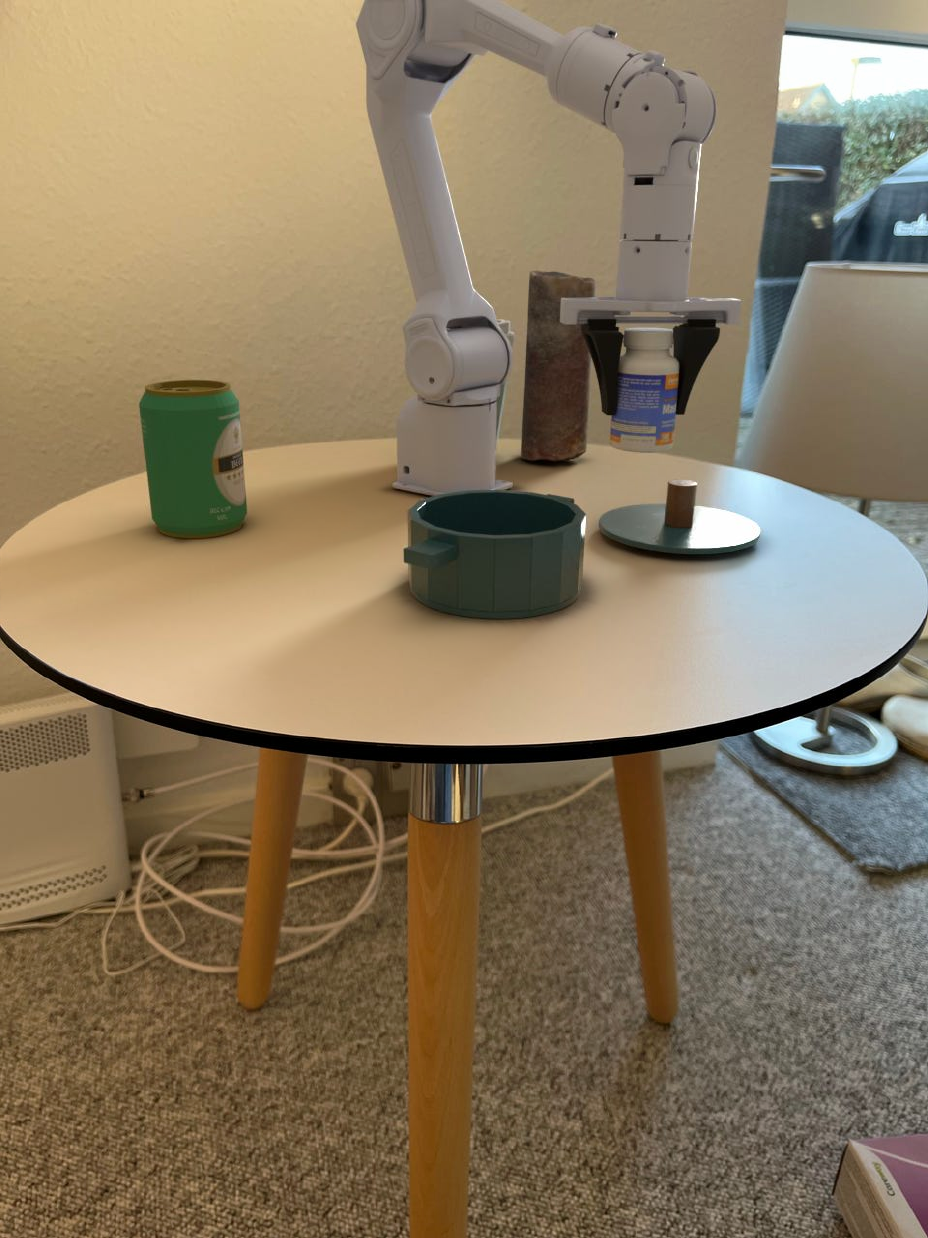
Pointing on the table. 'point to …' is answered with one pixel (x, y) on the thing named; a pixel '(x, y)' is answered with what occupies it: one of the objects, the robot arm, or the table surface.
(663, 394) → the pill bottle
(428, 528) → the pot
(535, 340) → the candle
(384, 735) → the table surface
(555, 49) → the robot arm
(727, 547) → the lid
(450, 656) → the table surface
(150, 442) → the beverage can
